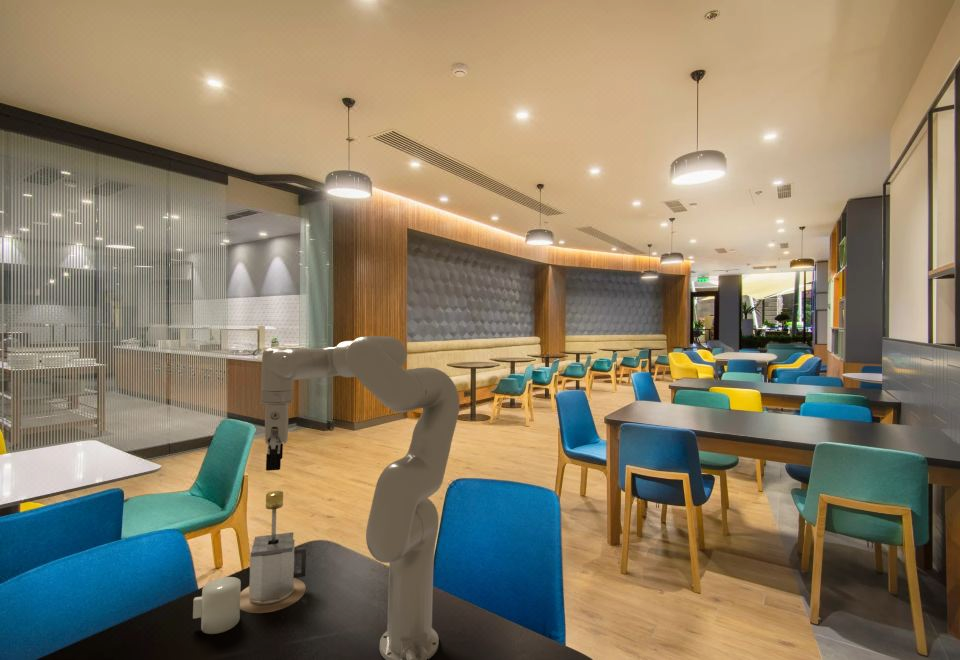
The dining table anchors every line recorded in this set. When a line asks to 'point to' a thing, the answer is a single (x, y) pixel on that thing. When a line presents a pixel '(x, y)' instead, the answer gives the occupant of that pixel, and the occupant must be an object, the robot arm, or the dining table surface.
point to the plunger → (274, 509)
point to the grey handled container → (273, 569)
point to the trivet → (297, 594)
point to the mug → (218, 605)
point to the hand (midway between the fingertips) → (274, 464)
